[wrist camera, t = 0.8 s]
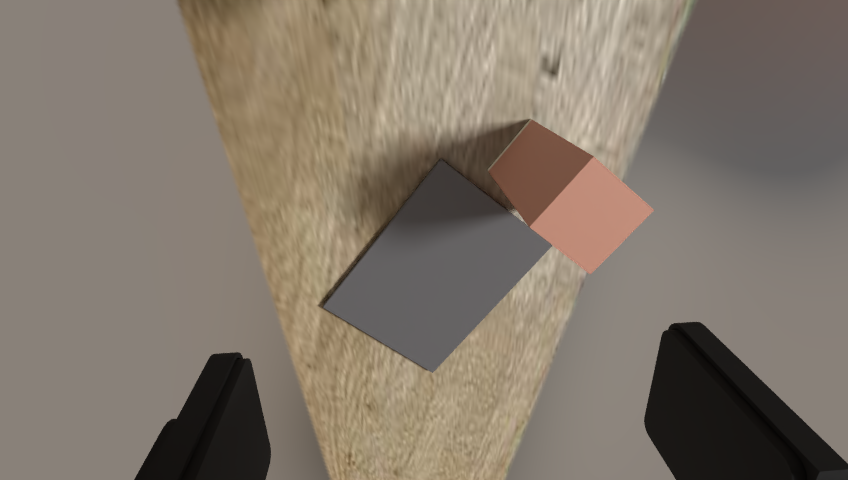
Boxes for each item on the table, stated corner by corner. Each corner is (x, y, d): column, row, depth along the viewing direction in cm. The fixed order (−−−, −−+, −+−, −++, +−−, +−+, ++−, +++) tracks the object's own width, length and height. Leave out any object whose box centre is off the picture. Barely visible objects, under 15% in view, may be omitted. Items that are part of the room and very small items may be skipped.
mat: (440, 158, 37) (441, 160, 37) (550, 243, 41) (552, 245, 40) (323, 304, 41) (323, 307, 41) (432, 369, 45) (432, 372, 44)
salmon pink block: (530, 118, 36) (593, 156, 25) (575, 158, 38) (654, 210, 27) (487, 170, 38) (529, 227, 27) (532, 206, 39) (590, 274, 28)
